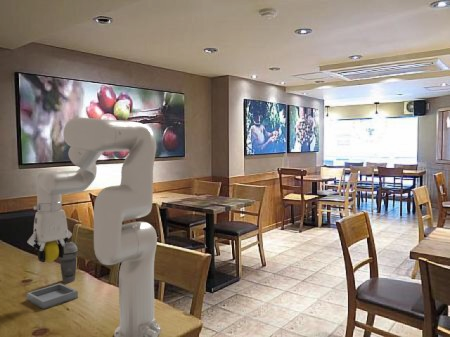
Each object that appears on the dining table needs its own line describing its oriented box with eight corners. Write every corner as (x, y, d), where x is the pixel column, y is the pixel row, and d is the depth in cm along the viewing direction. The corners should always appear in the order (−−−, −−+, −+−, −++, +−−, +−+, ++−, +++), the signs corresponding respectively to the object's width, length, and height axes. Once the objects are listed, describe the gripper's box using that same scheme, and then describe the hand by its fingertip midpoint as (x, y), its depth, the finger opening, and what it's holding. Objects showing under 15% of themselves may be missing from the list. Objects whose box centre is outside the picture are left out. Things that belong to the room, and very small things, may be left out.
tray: (77, 297, 132) (77, 290, 132) (43, 309, 123) (43, 301, 123) (60, 289, 140) (60, 283, 139) (26, 300, 130) (26, 293, 130)
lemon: (54, 259, 135) (54, 237, 134) (62, 262, 131) (61, 239, 131) (39, 263, 130) (38, 240, 130) (46, 266, 127) (45, 243, 126)
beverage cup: (71, 284, 145) (70, 233, 144) (54, 283, 147) (53, 232, 145) (82, 278, 152) (81, 228, 151) (66, 276, 154) (64, 228, 153)
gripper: (28, 211, 120) (30, 267, 121) (78, 205, 134) (80, 255, 135) (18, 209, 125) (20, 263, 126) (68, 203, 138) (69, 252, 139)
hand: (51, 258), depth 130 cm, fingers closed on lemon, 5 cm apart
